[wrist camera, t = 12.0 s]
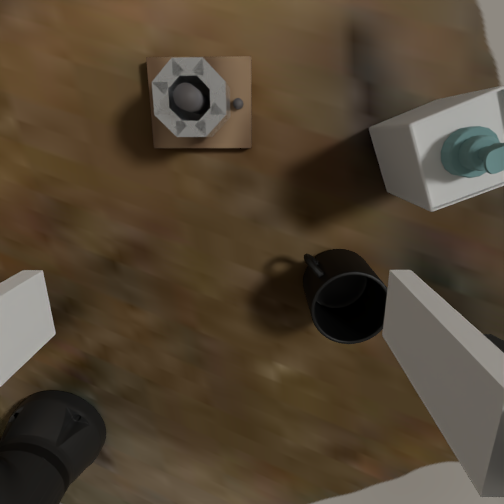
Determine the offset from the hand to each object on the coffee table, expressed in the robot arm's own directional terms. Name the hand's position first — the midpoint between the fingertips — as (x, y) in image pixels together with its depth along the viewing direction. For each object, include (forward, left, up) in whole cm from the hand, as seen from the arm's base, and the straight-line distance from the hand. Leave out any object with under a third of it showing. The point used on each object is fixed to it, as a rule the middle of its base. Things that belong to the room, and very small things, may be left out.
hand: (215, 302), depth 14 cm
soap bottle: (+20, +5, -35) cm, 40 cm away
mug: (+11, -12, -35) cm, 39 cm away
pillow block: (-6, +10, -35) cm, 36 cm away
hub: (-6, +10, -32) cm, 33 cm away
